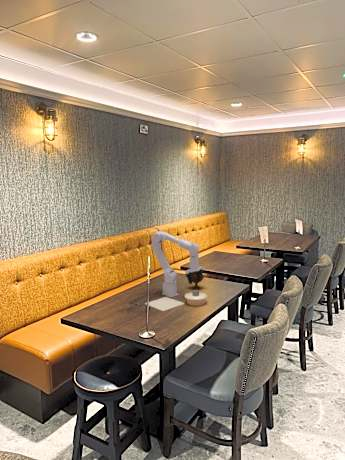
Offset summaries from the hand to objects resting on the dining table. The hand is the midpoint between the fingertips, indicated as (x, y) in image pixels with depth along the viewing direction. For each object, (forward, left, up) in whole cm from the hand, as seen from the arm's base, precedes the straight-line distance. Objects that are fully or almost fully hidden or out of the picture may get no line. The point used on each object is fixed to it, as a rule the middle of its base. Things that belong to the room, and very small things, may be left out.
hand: (194, 282), depth 239 cm
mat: (-4, -23, -10) cm, 25 cm away
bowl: (+9, -8, -10) cm, 16 cm away
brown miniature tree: (-12, +14, -10) cm, 21 cm away
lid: (+9, -8, -5) cm, 13 cm away
